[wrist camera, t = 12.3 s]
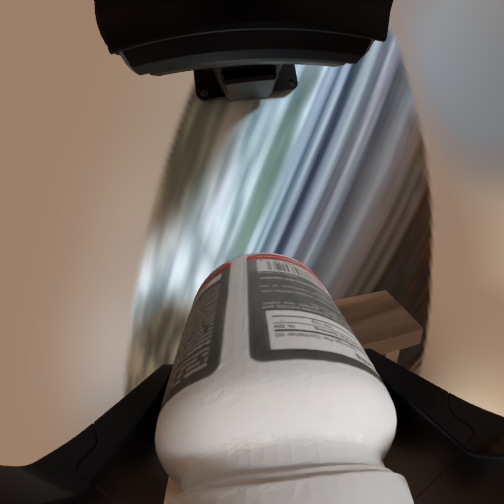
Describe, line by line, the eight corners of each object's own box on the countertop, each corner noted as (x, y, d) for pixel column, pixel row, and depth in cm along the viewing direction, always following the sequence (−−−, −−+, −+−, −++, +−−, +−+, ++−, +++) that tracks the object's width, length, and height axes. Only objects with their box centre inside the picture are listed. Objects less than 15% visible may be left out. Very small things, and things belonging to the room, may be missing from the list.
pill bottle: (229, 376, 13) (221, 572, 3) (171, 280, 11) (55, 514, 2) (340, 336, 12) (427, 527, 3) (302, 225, 11) (485, 461, 1)
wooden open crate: (236, 314, 21) (233, 366, 15) (385, 290, 20) (423, 328, 15) (253, 401, 24) (256, 451, 18) (374, 378, 23) (396, 421, 18)
